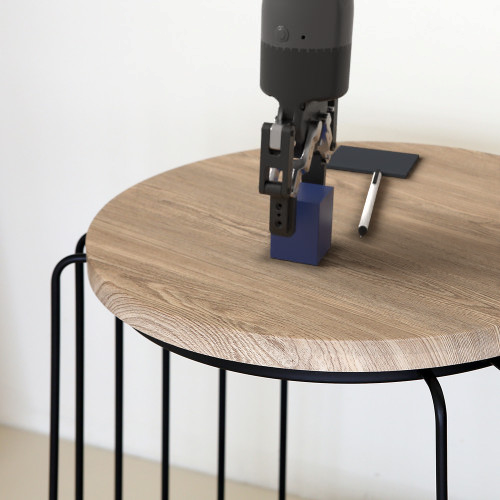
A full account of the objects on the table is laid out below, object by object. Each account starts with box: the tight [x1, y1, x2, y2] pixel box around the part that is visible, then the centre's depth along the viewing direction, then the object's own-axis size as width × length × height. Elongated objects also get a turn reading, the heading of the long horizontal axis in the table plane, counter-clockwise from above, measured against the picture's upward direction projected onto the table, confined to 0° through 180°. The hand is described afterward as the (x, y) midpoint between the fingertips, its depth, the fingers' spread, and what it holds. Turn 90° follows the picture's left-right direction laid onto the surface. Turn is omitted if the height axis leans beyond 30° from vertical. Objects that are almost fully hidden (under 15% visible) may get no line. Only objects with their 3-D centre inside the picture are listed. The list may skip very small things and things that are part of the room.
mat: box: [324, 144, 420, 179], centre depth 97 cm, size 10×8×1 cm
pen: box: [357, 169, 383, 238], centre depth 84 cm, size 1×19×1 cm, turn 166°
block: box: [269, 181, 335, 266], centre depth 73 cm, size 4×4×6 cm
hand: (298, 217), depth 73 cm, fingers open, 8 cm apart
